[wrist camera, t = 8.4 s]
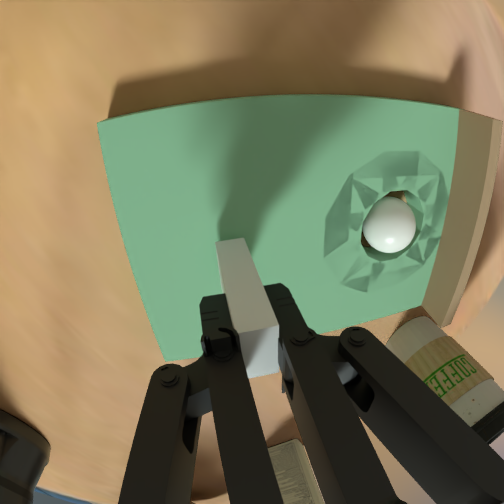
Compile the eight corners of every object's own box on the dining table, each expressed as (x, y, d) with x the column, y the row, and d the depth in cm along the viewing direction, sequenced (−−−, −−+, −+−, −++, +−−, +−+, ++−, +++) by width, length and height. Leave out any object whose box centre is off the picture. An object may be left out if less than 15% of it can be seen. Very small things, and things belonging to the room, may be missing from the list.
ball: (357, 260, 18) (412, 267, 17) (364, 206, 16) (424, 215, 15) (360, 232, 21) (407, 238, 20) (364, 185, 19) (415, 192, 18)
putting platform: (165, 341, 22) (165, 395, 18) (107, 118, 14) (75, 132, 9) (419, 288, 25) (450, 324, 21) (450, 106, 17) (502, 121, 12)
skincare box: (264, 458, 38) (284, 528, 28) (254, 451, 36) (274, 527, 25) (305, 445, 38) (329, 515, 27) (298, 436, 35) (324, 513, 25)
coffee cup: (387, 309, 25) (479, 445, 13) (456, 295, 27) (540, 394, 14) (357, 377, 30) (414, 492, 17) (423, 358, 32) (482, 451, 19)
